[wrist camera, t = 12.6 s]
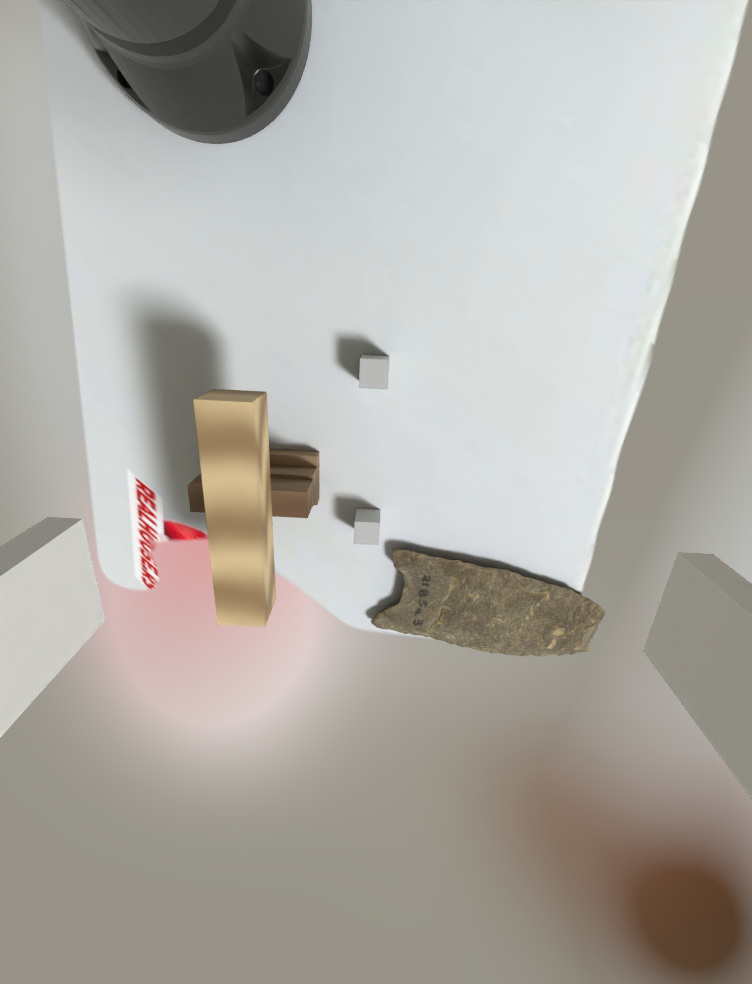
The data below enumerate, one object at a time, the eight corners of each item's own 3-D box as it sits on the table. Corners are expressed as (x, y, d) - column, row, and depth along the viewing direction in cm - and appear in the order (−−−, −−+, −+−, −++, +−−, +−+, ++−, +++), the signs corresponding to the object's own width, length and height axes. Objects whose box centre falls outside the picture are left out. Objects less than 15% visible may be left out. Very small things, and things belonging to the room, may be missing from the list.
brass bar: (214, 389, 34) (193, 399, 31) (266, 391, 34) (251, 402, 31) (232, 596, 42) (217, 624, 38) (275, 598, 42) (264, 627, 38)
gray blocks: (361, 354, 40) (360, 358, 37) (388, 356, 40) (389, 360, 37) (355, 529, 46) (353, 543, 44) (379, 530, 46) (378, 545, 44)
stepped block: (215, 446, 43) (185, 470, 37) (319, 451, 43) (307, 477, 37) (220, 493, 45) (192, 525, 39) (319, 499, 45) (307, 531, 39)
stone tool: (369, 621, 51) (576, 661, 53) (368, 638, 49) (586, 679, 50) (391, 538, 47) (614, 584, 49) (391, 552, 45) (627, 599, 46)
